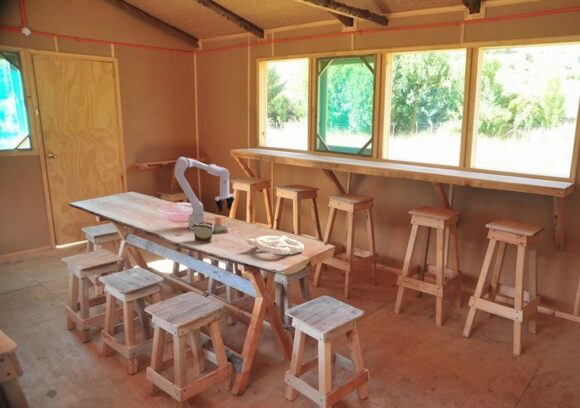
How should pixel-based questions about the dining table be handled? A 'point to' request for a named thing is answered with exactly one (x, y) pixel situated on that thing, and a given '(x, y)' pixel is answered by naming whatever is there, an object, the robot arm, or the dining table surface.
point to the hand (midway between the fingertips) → (224, 210)
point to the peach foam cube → (220, 220)
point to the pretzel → (277, 244)
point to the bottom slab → (220, 231)
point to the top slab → (220, 227)
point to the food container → (203, 231)
